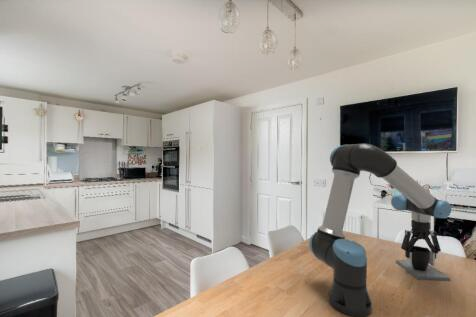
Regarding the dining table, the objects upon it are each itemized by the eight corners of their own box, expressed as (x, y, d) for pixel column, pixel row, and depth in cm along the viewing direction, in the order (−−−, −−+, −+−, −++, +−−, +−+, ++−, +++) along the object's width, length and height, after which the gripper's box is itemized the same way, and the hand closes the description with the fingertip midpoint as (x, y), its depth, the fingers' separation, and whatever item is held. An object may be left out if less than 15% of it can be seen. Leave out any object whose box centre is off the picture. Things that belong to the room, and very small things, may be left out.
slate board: (450, 280, 107) (450, 278, 107) (418, 279, 109) (418, 276, 109) (423, 263, 125) (423, 260, 125) (395, 262, 126) (395, 259, 126)
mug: (437, 268, 116) (437, 249, 116) (424, 273, 111) (424, 253, 111) (418, 261, 123) (419, 243, 123) (405, 265, 118) (405, 247, 118)
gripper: (438, 219, 119) (438, 262, 119) (392, 218, 122) (392, 260, 122) (450, 223, 112) (450, 269, 112) (401, 221, 114) (401, 267, 114)
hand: (420, 264), depth 117 cm, fingers closed on mug, 10 cm apart
